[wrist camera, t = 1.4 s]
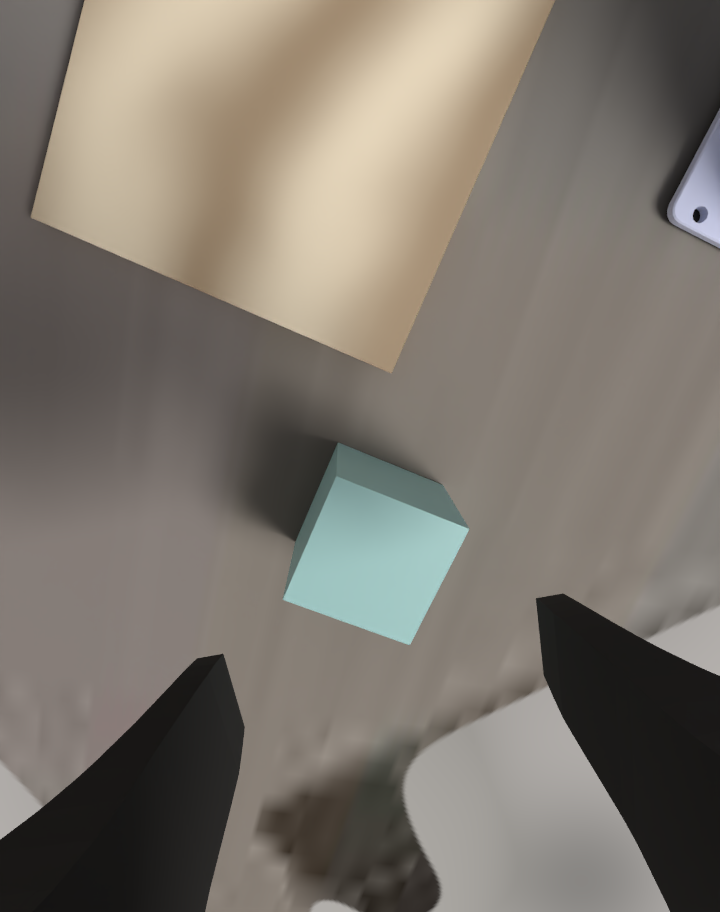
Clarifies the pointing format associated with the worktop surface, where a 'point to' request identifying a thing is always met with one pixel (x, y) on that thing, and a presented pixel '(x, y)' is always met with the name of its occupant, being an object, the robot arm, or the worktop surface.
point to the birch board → (285, 148)
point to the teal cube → (374, 545)
